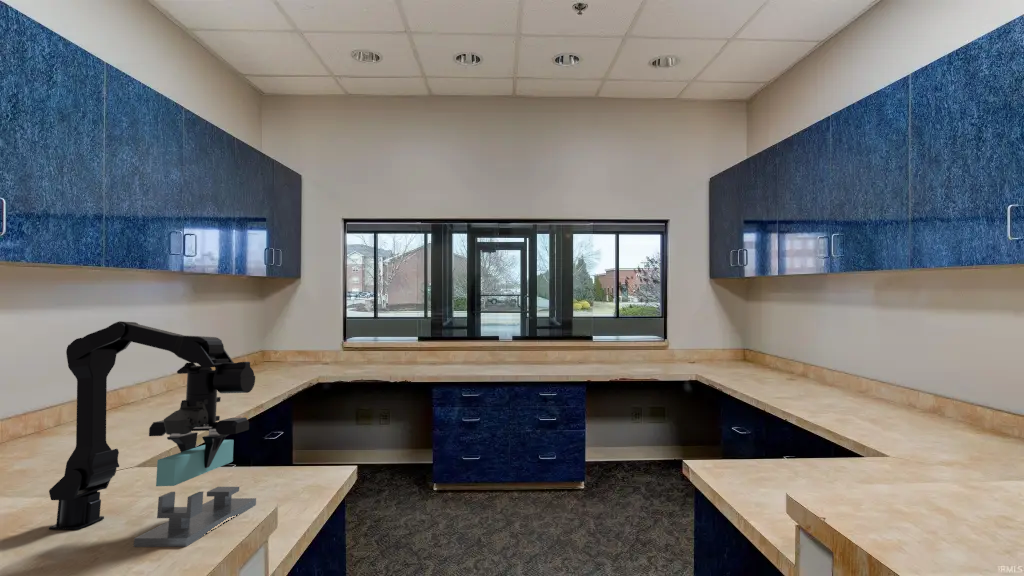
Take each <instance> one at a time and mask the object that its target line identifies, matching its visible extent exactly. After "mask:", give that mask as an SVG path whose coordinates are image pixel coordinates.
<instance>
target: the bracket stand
mask: <svg viewBox="0 0 1024 576" xmlns="http://www.w3.org/2000/svg"><path fill="white" fill-rule="evenodd" d="M238 492H240V486H217V487H215V488H211V489H210V490H208V491H207V492H206V497H213V499H211V500H209V501H207V502H205V503H203V502H204V491H197V492H196V493H193V494H191V495H189V496H187V499H186V500H187V501H186V502H187V504H186V506H175V503H176V491H170V492H167V493H164V494H163V495H160V496H158V503H157V514H156V515H157V517H156V519H168V521H166V522H164V523H163V524H160V525H158V526H156V527H154V528H152V529H150V530H149V531H146V532H144V533H142V534H140V535H138V536H136V537H134V538H133V547H134V548H136V547H137V548H143V547H144V548H145V547H147V548H148V547H149V548H153V547H154V548H155V547H157V548H161V547H163V548H165V547H166V548H167V547H169V548H178V547H179V548H181V547H183V548H184V547H185V548H186V547H187V546H190V545H192V544H193V543H194V542H196V541H198V540H199V538H200V539H201V538H203V537H204V536H203V535H204V534H206V533H207V532H208V531H210V530H211V529H212V528H214V527H215V526H217V525H218V524H220V523H221V522H223V521H224V520H226V519H227V518H229V517H232V516H235V515H238V514H240V515H242V514H243V513H245V512H246V511H248V510H250V509H252V508H254V507H255V506H256V505H257V497H256V498H255V497H254V498H253V497H252V498H250V497H248V498H247V497H245V498H243V497H242V498H241V497H240V498H239V497H238V498H235V497H232V496H233V495H235V494H236V493H238ZM238 516H239V515H238ZM206 535H207V534H206ZM202 536H203V537H202Z"/></svg>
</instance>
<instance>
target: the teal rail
mask: <svg viewBox="0 0 1024 576" xmlns="http://www.w3.org/2000/svg"><path fill="white" fill-rule="evenodd" d="M234 442H235V441H234V439H224V441H223V442H222V444H221V445H220V447H219V449H218V451H217V453H216V455H215V457H214V459H213V461H212V463H211V465H210V467H208V468H205V465H204V458H205V444H203V445H199V446H196V448H193V449H190V450H187V451H183V452H181V451H180V452H177V453H173V454H171V455H167V456H165V457H162V458H159V459H157V461H156V462H157V464H156V477H155V478H156V479H155V487H175V486H177V485H180V484H182V483H185V482H187V481H189V480H191V479H194V478H196V477H199V476H201V475H204V474H206V473H208V472H211V471H213V470H215V469H219V468H220V467H224V466H226V465H228V464H230V463H232V462H233V461H234Z"/></svg>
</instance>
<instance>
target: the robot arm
mask: <svg viewBox="0 0 1024 576" xmlns="http://www.w3.org/2000/svg"><path fill="white" fill-rule="evenodd" d="M131 343H134V344H135V343H136V344H139V345H144V346H148V347H151V348H155V349H160V350H162V351H163V350H165V351H167V352H170V353H172V354H174V355H175V356H176V357H177V358H180V359H181V360H184V361H186V362H185V364H184V365H183V366H182V367H181V368H179V369H178V370H177V371H176V373H177V374H180V375H181V374H182V375H183V374H186V376H187V377H186V390H185V393H186V394H185V399H182V400H181V402H180V406H179V409H178V410H175V411H174V412H172V413H171V414H169V415H168V416H166V417H164V418H163V419H162V420H159V421H154V422H152V423H151V425H150V426H149V429H148V437H162V436H164V435H165V434H166V435H169V436H167V437H166V439H167V440H169V441H172V442H173V443H175V444H176V445H177V447H178V449H179V451H180V452H183V451H187V450H190V449H193V448H196V447H197V440H198V434H199V433H198V432H208V435H204V436H201V437H202V438H201V439H202V440H203V442H204V443H205V444H204V445H205V458H204V465H205V468H208V467H210V465H211V463H212V461H213V459H214V457H215V455H216V453H217V451H218V449H219V447H220V445H221V444H222V442H223V441H224V440H226V437H228V436H230V435H236V434H239V433H240V434H241V433H242V432H246V431H250V421H249V420H248V418H247V417H244V416H243V417H230V418H225V419H220V417H221V416H220V415H217V403H220V402H221V396H218V393H219V394H249V393H250V392H252V391H253V388H254V386H255V384H256V375H255V373H254V369H253V368H252V367H251V362H250V361H239V362H234V361H233V360H232V358H231V357H230V355H229V354H228V352H227V351H226V350H225V348H224V347H225V346H224V343H223V342H222V339H220V338H219V337H217V336H216V337H215V336H202V335H201V336H200V335H183V334H179V333H177V332H172V331H167V330H163V329H160V328H156V327H151V326H147V325H143V324H139V323H138V322H135V321H122V320H121V321H117V322H114V323H112V324H111V325H109V326H106V327H105V328H104V327H103V328H102V329H99V330H97V331H93V332H91V333H89V334H86V335H85V336H83V337H79V338H78V337H77V338H76V339H74V340H73V341H71V342H70V344H67V347H66V350H65V352H66V353H65V354H66V361H67V366H68V369H69V370H70V372H71V373H72V375H74V377H75V379H76V426H75V427H76V431H75V432H76V435H75V436H76V438H75V440H76V441H75V448H74V449H73V451H72V452H71V455H70V456H69V457H68V460H67V461H66V463H65V464H66V466H65V469H64V470H65V471H64V475H63V476H62V478H60V479H59V480H58V481H57V482H56V483H55V484H54V485H53V486H52V487H51V488H49V490H48V493H49V494H48V495H49V497H50V501H58V502H57V503H58V504H57V513H56V523H55V524H52V525H50V526H48V529H49V530H81V529H83V528H85V527H87V526H90V525H92V524H94V523H97V522H100V521H102V520H105V516H104V515H101V504H102V499H101V491H102V490H106V489H108V486H109V484H110V482H111V480H112V479H113V477H114V476H115V475H116V473H117V468H119V467H120V464H119V460H118V459H119V453H120V452H119V449H118V448H113V449H112V448H111V446H110V445H109V444H108V443H107V393H108V392H107V390H108V389H107V387H108V386H107V383H108V382H107V380H108V379H107V378H108V376H109V374H110V372H111V371H112V369H113V368H114V366H115V364H116V359H117V355H118V354H119V353H121V352H123V351H124V350H126V349H127V348H128V347H129V345H131ZM196 364H197V365H196ZM213 368H215V369H213Z"/></svg>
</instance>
